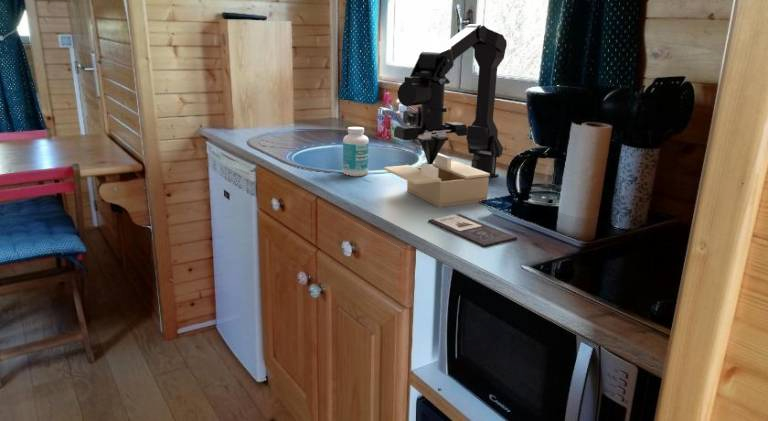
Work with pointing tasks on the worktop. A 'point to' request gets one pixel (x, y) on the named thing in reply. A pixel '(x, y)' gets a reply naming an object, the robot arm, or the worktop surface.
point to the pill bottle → (355, 152)
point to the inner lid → (457, 167)
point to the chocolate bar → (472, 230)
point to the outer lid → (416, 173)
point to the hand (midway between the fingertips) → (430, 164)
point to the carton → (451, 189)
